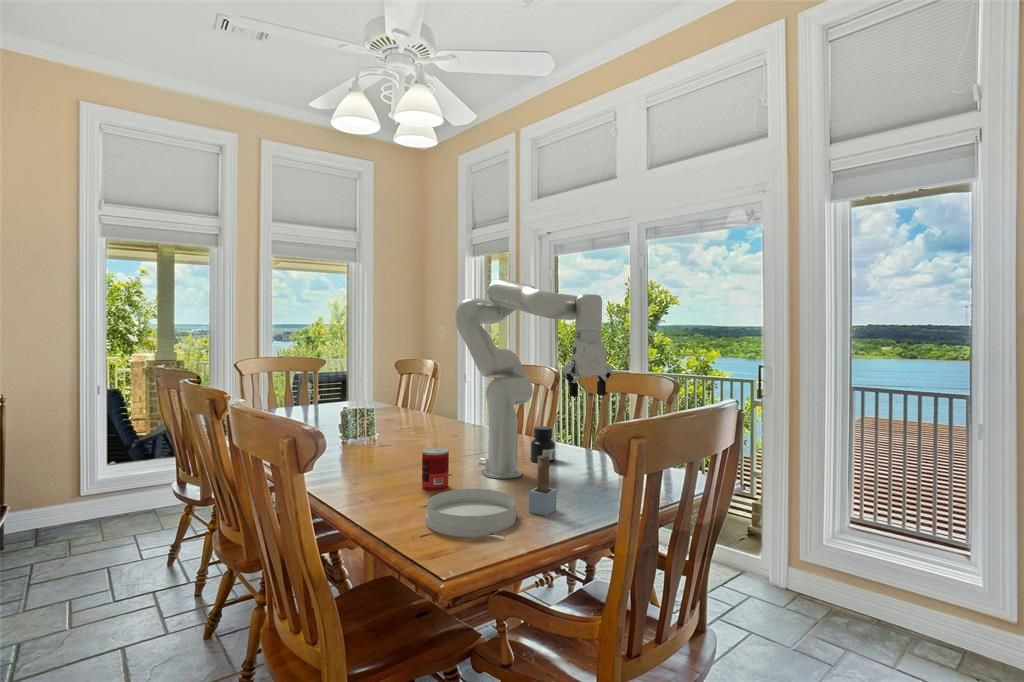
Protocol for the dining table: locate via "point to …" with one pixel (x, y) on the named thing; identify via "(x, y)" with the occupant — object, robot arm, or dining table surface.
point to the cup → (542, 502)
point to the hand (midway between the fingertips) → (587, 395)
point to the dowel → (543, 474)
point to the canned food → (435, 468)
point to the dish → (470, 512)
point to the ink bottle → (542, 443)
